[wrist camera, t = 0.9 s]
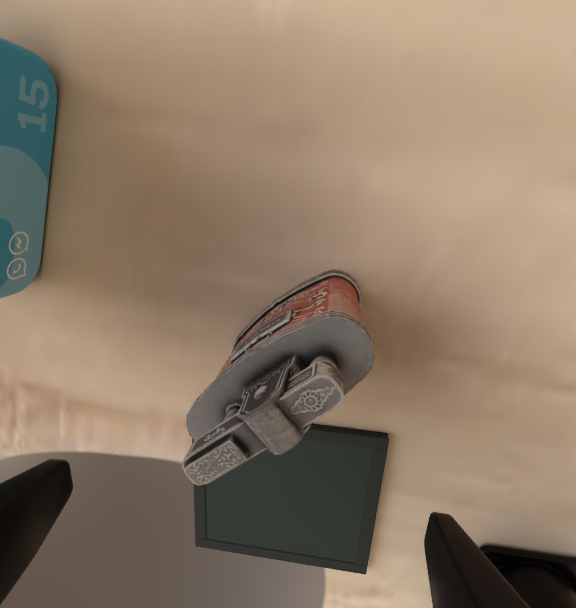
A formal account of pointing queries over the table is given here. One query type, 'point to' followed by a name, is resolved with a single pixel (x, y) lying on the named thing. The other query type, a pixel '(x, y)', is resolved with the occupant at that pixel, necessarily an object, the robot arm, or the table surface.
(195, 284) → the table surface
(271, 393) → the lighter
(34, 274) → the data package
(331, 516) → the desk mat
